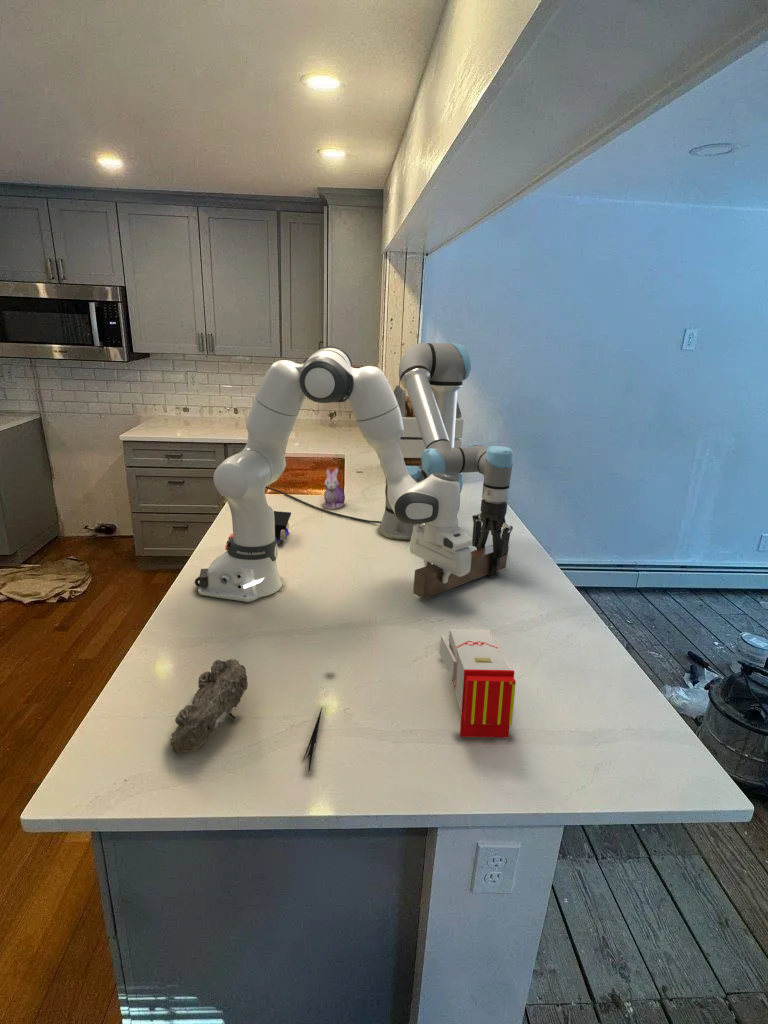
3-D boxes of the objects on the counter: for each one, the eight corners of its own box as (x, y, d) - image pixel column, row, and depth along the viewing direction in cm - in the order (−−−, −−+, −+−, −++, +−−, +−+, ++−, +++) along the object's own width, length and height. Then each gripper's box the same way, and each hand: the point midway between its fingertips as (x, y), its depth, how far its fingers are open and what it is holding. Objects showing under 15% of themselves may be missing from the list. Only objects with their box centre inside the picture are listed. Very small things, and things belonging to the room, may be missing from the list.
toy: (489, 613, 130) (525, 677, 101) (485, 667, 133) (518, 744, 104) (437, 612, 130) (457, 676, 101) (434, 666, 133) (453, 743, 103)
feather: (331, 679, 122) (336, 673, 122) (307, 777, 96) (313, 769, 95) (324, 675, 122) (329, 669, 121) (298, 772, 95) (304, 764, 95)
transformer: (381, 463, 289) (385, 382, 275) (444, 464, 292) (450, 384, 279) (389, 482, 257) (393, 392, 243) (459, 483, 261) (467, 394, 247)
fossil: (195, 660, 117) (247, 628, 112) (227, 691, 120) (279, 661, 115) (146, 746, 98) (206, 711, 93) (185, 779, 101) (245, 748, 96)
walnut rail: (423, 598, 152) (425, 575, 150) (412, 593, 155) (414, 569, 153) (505, 567, 175) (508, 546, 173) (495, 563, 178) (498, 542, 176)
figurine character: (286, 550, 185) (292, 529, 198) (285, 530, 182) (291, 509, 195) (265, 550, 185) (273, 528, 198) (264, 529, 181) (272, 509, 195)
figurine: (327, 510, 218) (328, 473, 213) (318, 502, 227) (318, 466, 222) (350, 508, 223) (351, 471, 218) (339, 500, 231) (340, 464, 226)
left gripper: (405, 523, 158) (403, 568, 162) (460, 547, 143) (455, 595, 148) (422, 518, 162) (419, 562, 166) (476, 541, 147) (471, 589, 152)
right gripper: (463, 494, 168) (457, 566, 176) (510, 510, 156) (501, 586, 164) (480, 490, 173) (473, 560, 181) (526, 505, 161) (516, 579, 169)
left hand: (436, 578), depth 157 cm, fingers closed on walnut rail, 4 cm apart
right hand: (486, 572), depth 172 cm, fingers closed on walnut rail, 4 cm apart
